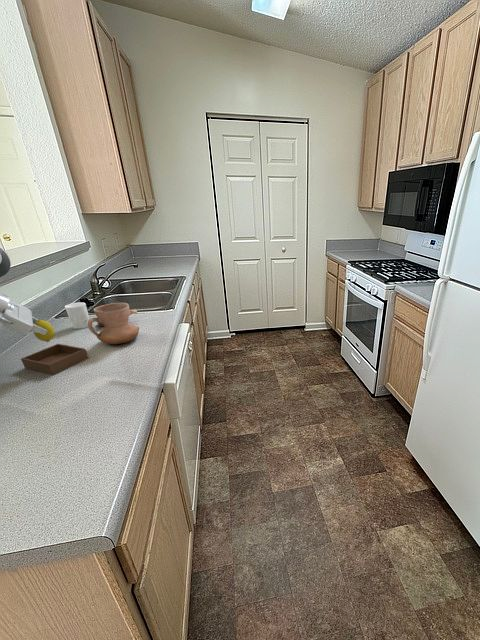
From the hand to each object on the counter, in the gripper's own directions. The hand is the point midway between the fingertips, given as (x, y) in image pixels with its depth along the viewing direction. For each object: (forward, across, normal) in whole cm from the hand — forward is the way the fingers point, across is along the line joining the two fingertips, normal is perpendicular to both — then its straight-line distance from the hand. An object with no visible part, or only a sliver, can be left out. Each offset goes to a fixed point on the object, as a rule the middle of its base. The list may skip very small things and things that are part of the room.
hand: (45, 329), depth 112 cm
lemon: (+3, 0, +4) cm, 5 cm away
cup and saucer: (+26, +32, -8) cm, 41 cm away
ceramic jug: (+24, +8, -6) cm, 26 cm away
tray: (+9, 0, +9) cm, 13 cm away
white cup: (+17, +37, +1) cm, 41 cm away
